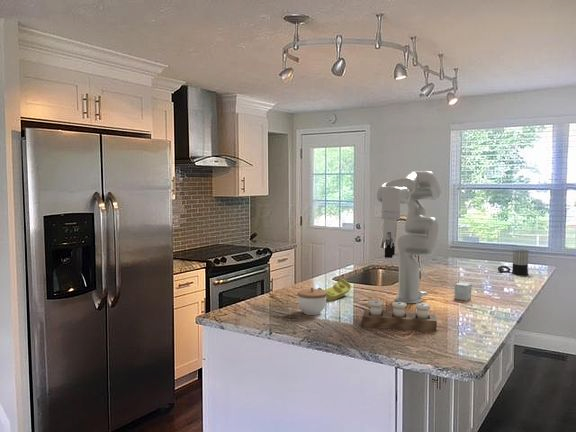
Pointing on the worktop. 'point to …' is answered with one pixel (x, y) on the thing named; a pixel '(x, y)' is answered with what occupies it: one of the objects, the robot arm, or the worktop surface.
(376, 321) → the mount
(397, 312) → the knob
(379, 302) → the knob
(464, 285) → the product box
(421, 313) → the knob
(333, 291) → the plastic component
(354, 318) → the worktop surface
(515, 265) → the milk frother
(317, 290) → the lidded bowl
